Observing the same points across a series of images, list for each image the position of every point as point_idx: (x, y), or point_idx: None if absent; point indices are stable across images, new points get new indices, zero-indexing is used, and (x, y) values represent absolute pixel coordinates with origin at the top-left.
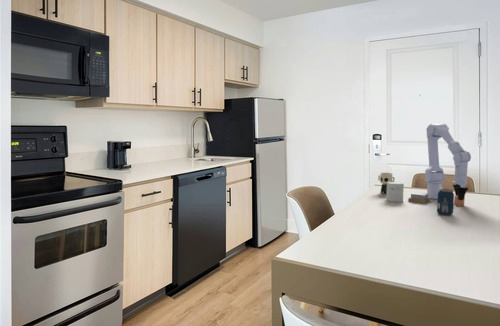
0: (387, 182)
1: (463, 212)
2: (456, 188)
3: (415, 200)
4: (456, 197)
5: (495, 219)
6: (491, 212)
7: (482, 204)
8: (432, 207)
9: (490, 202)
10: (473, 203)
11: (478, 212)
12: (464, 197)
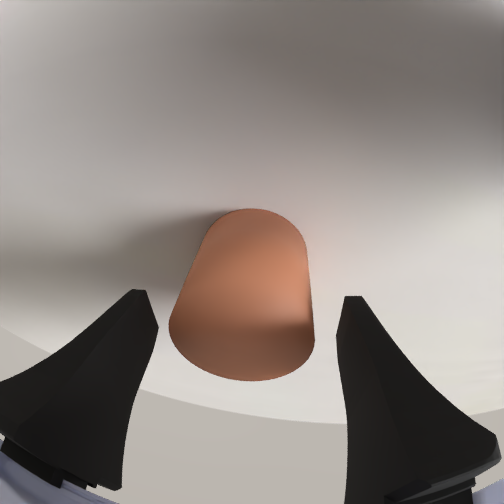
0: None
1: (3, 238)
2: (2, 398)
3: None
4: (185, 291)
5: (4, 328)
6: None
7: (342, 393)
8: (27, 13)
9: None
10: None
11: (60, 317)
12: (219, 369)
